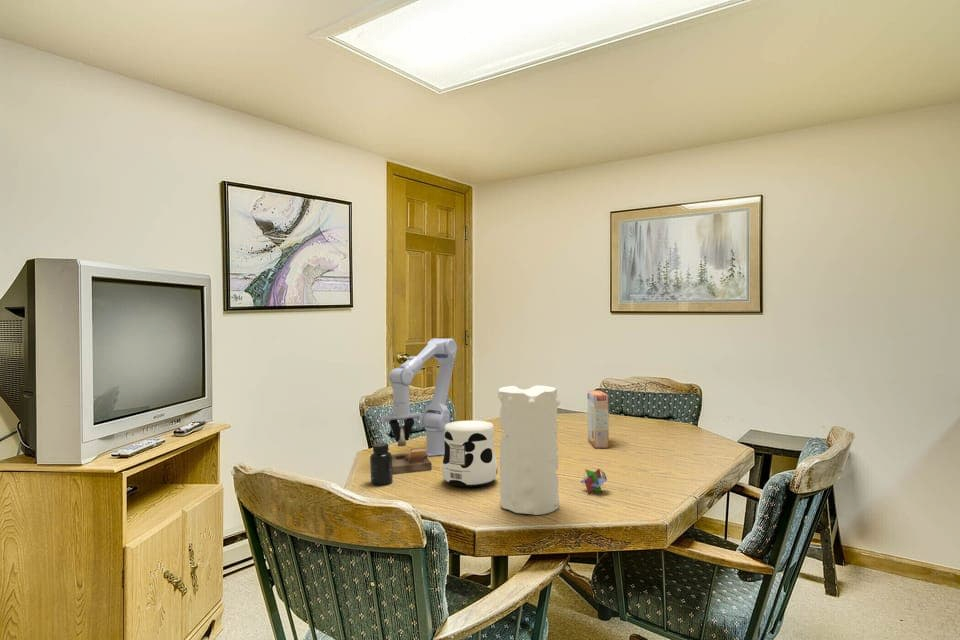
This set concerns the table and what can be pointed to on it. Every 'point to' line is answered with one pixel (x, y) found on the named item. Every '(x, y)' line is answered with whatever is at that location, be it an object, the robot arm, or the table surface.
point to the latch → (417, 453)
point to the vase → (529, 449)
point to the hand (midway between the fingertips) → (401, 440)
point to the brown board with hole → (409, 464)
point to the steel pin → (402, 435)
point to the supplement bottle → (381, 465)
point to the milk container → (469, 453)
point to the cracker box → (598, 419)
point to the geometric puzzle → (594, 480)
